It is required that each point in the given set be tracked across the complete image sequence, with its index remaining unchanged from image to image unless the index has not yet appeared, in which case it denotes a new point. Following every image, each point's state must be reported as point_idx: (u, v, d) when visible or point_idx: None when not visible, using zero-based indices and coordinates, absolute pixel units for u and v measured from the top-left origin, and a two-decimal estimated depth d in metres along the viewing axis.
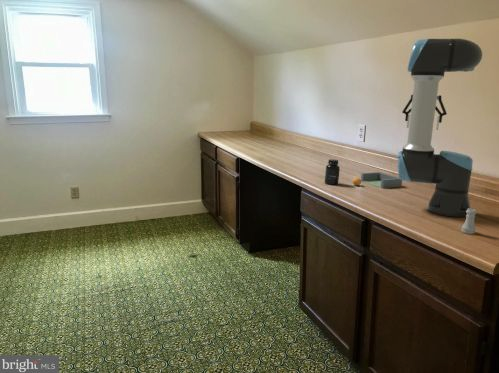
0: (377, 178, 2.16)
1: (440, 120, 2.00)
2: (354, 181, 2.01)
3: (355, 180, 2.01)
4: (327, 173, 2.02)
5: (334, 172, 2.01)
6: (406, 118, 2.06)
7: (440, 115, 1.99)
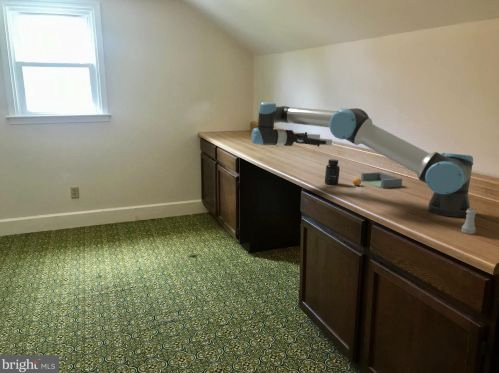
0: (377, 178, 2.16)
1: None
2: (354, 181, 2.01)
3: (355, 180, 2.01)
4: (327, 173, 2.02)
5: (334, 172, 2.01)
6: (323, 140, 1.91)
7: (306, 134, 2.04)
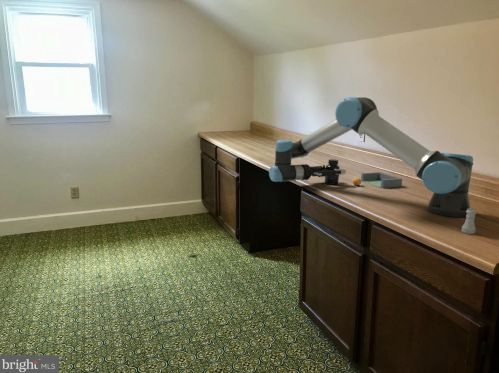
0: (377, 178, 2.16)
1: None
2: (354, 181, 2.01)
3: (355, 180, 2.01)
4: None
5: None
6: (338, 170, 2.00)
7: (324, 166, 2.07)
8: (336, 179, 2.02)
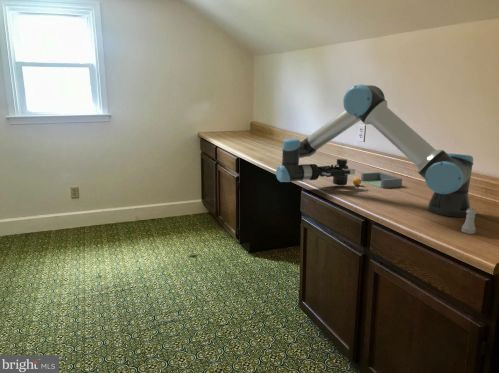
0: (377, 178, 2.16)
1: None
2: (354, 181, 2.01)
3: (355, 180, 2.01)
4: None
5: None
6: (347, 170, 1.93)
7: (332, 166, 2.00)
8: (345, 179, 1.96)
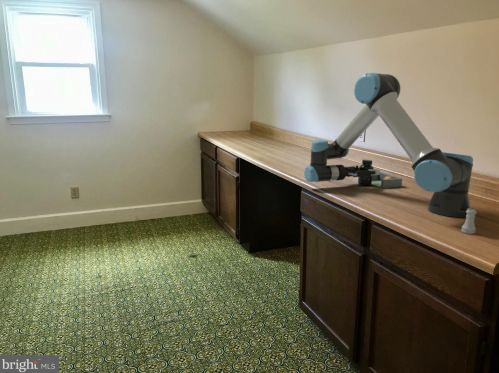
0: (377, 178, 2.16)
1: None
2: (390, 177, 2.05)
3: (391, 178, 2.04)
4: None
5: None
6: (373, 171, 1.99)
7: (357, 167, 2.06)
8: (370, 179, 2.01)
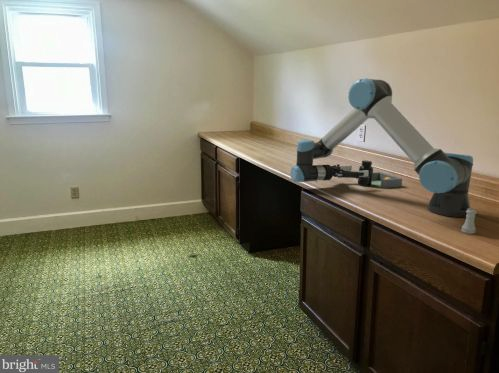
0: (377, 178, 2.16)
1: None
2: None
3: None
4: None
5: None
6: (361, 172, 1.93)
7: None
8: (370, 180, 2.01)
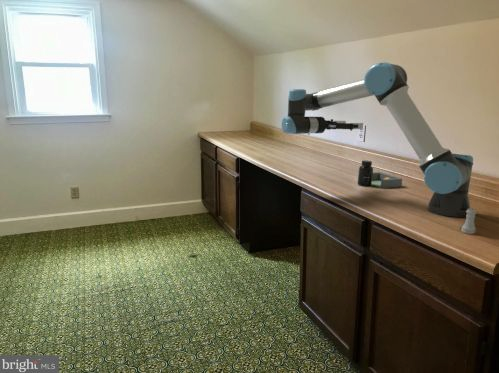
0: (377, 178, 2.16)
1: (336, 121, 1.99)
2: None
3: None
4: (361, 174, 2.02)
5: (368, 173, 2.00)
6: (355, 124, 1.85)
7: (332, 121, 1.98)
8: (370, 180, 2.01)
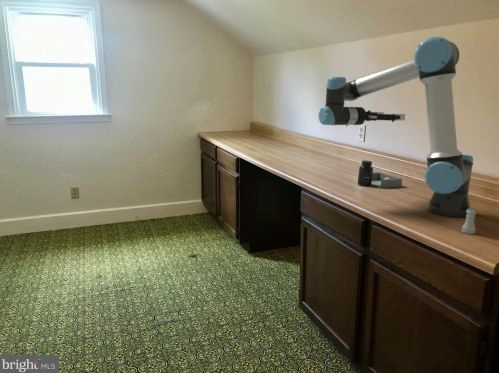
0: (377, 178, 2.16)
1: None
2: None
3: None
4: (361, 174, 2.02)
5: (368, 173, 2.00)
6: (397, 115, 1.73)
7: (370, 112, 1.86)
8: (370, 180, 2.01)
